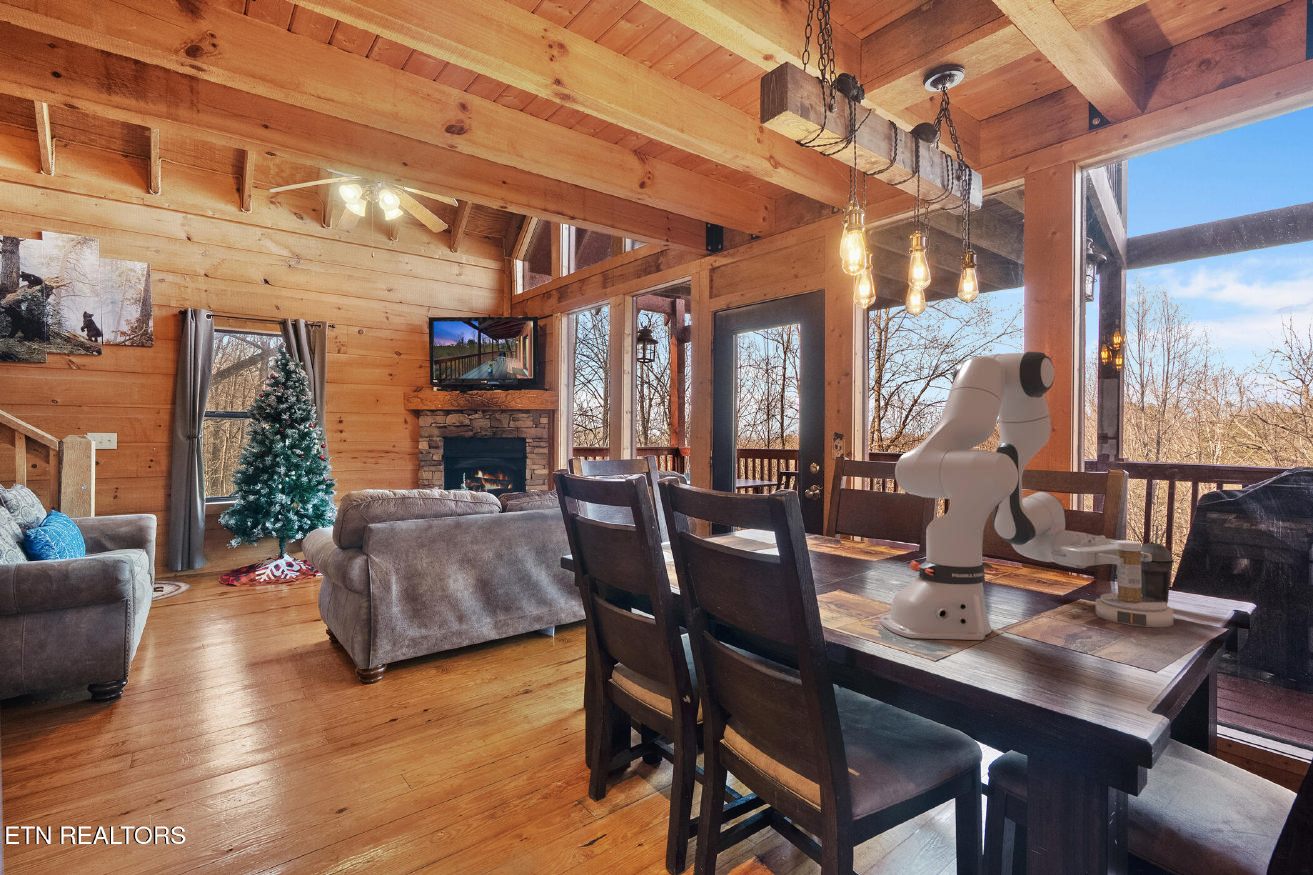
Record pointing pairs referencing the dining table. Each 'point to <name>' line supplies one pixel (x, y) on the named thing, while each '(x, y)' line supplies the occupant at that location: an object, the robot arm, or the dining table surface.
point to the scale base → (1134, 616)
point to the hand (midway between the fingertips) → (1135, 559)
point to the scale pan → (1135, 603)
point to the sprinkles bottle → (1129, 571)
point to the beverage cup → (1156, 571)
